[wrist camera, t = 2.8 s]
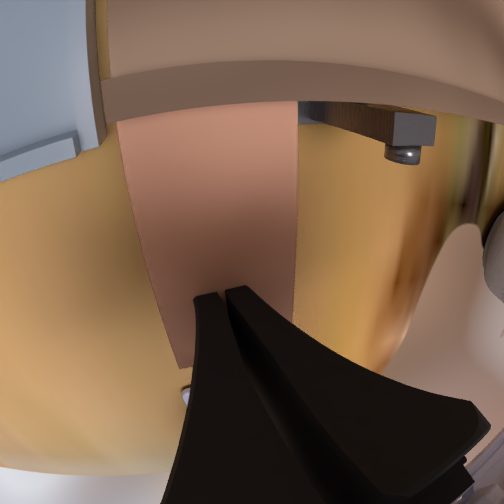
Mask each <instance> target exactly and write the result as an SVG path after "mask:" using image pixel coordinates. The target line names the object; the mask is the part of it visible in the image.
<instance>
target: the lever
mask: <svg viewBox="0 0 504 504" xmlns="http://www.w3.org/2000/svg"><path fill="white" fill-rule="evenodd" d="M107 26H108V46H109V60H110V72H111V78H109V79H105V80H101V88H102V97H103V105H104V113H105V120H106V124H109V123H114V122H116V123H117V130H118V136H119V143H120V149H121V155H122V160H123V166H124V171H125V176H126V182H127V187H128V191H129V196H130V201H131V206H132V210H133V214H134V219H135V223H136V227H137V231H138V236H139V240H140V244H141V247H142V251H143V255H144V259H145V263H146V266H147V270H148V274H149V277H150V281H151V284H152V287H153V291H154V294H155V298H156V301H157V304H158V307H159V311H160V314H161V317H162V320H163V323H164V326H165V329H166V332H167V335H168V338H169V341H170V344H171V347H172V350H173V352H174V355H175V358H176V361H177V363H178V366H179V369H183V368H188V367H193V363H194V354H195V335H196V318H195V308H194V303H193V299H194V298H195V297H196V296H198V295H203V294H208V293H212V292H218V294H219V296H220V298H221V300H222V301H223V303H224V305H225V308H226V311H227V303H226V295H225V290H226V289H230V288H235V287H239V286H243V285H246V286H248V287H250V288H251V289H252V290H253V291H254V292H255V293H256V294H257V295H258V296H259V297H260V298H262V299H263V300H264V301H265V302H266V303H267V304H269V305H270V306H271V307H272V308H273V309H274V310H276V311H277V312H278V313H279V314H281V315H282V316H283V317H284V318H286V319H287V320H288V321H290V322H291V323H292V318H293V301H294V281H295V259H296V231H297V188H298V101H338V102H359V103H373V104H385V105H395V106H404V107H412V108H420V109H427V110H433V111H440V112H446V113H451V114H457V115H462V116H467V117H472V118H476V119H481V120H485V121H489V122H493V123H497V124H501V125H504V0H107ZM227 314H228V311H227Z"/></svg>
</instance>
